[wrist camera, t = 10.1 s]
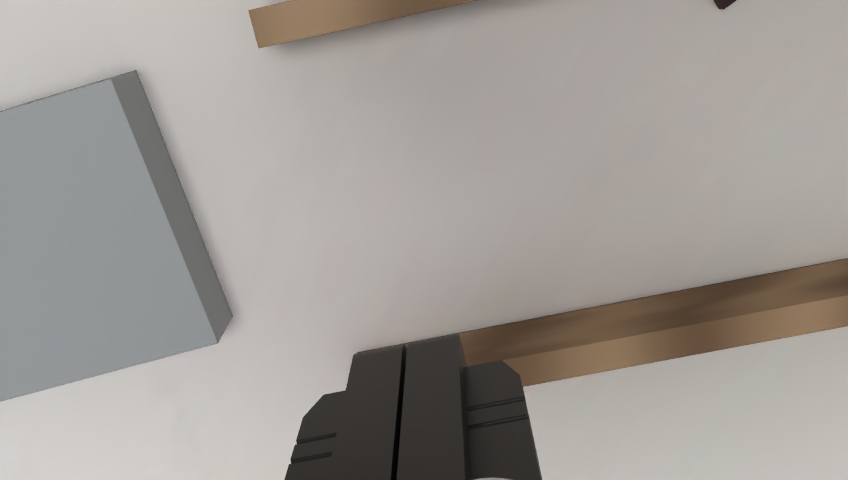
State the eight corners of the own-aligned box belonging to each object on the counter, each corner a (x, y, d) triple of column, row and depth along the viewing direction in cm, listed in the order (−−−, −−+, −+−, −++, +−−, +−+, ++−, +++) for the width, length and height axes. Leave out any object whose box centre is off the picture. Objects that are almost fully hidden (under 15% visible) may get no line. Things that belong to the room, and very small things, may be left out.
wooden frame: (1028, -164, 27) (1100, -180, 24) (1020, 254, 31) (1079, 282, 28) (266, 6, 28) (248, 10, 26) (363, 379, 33) (358, 417, 30)
